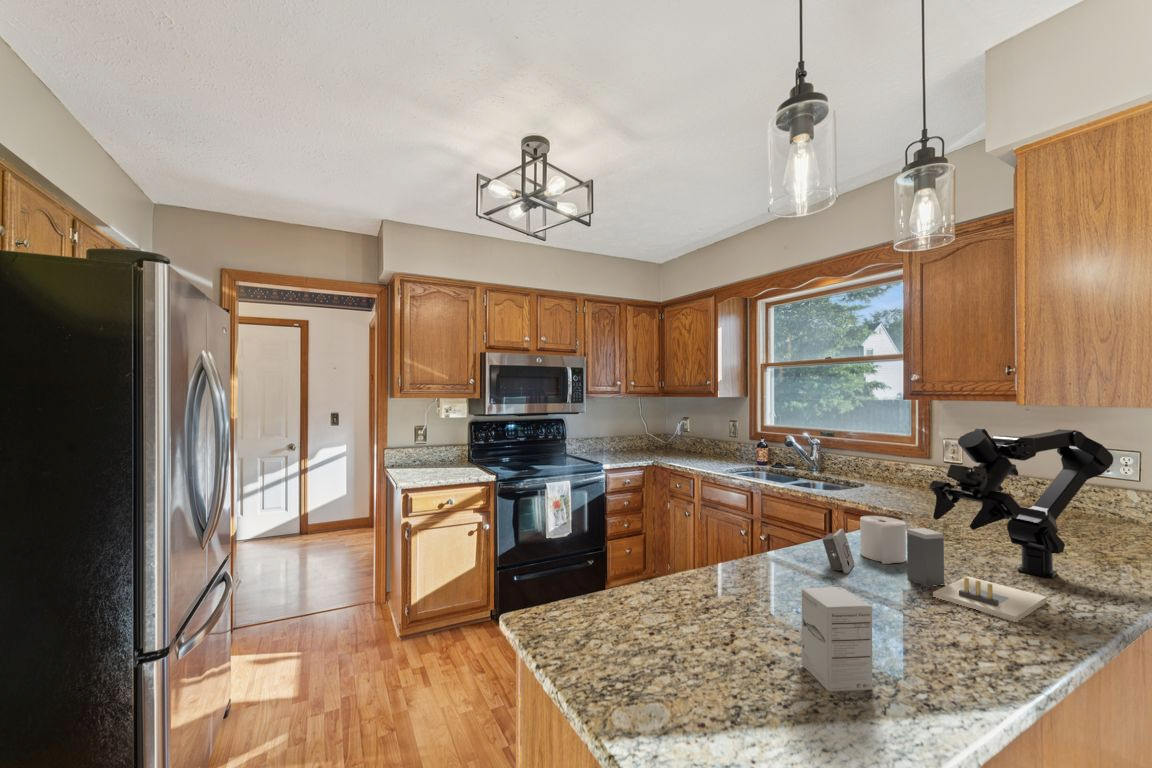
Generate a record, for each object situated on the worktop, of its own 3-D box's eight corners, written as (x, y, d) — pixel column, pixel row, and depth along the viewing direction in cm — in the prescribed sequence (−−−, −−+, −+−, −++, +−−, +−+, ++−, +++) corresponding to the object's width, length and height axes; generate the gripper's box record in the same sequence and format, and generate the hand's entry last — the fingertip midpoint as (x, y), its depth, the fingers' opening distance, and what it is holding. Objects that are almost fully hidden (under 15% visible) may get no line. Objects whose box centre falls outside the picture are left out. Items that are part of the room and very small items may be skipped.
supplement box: (800, 665, 79) (799, 587, 80) (843, 663, 80) (842, 585, 80) (827, 693, 72) (826, 606, 72) (874, 691, 73) (873, 605, 73)
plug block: (924, 577, 119) (924, 528, 119) (944, 585, 114) (943, 533, 114) (907, 579, 118) (907, 529, 118) (926, 587, 113) (925, 534, 113)
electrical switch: (848, 575, 120) (843, 536, 121) (825, 572, 123) (821, 534, 124) (855, 565, 128) (850, 529, 128) (833, 562, 131) (829, 527, 132)
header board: (967, 581, 117) (967, 559, 117) (1046, 602, 105) (1046, 577, 105) (933, 597, 107) (932, 573, 107) (1016, 622, 95) (1015, 595, 95)
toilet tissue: (888, 550, 140) (888, 515, 140) (919, 565, 128) (919, 526, 128) (852, 550, 139) (851, 515, 140) (879, 565, 127) (879, 526, 128)
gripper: (934, 449, 128) (899, 492, 126) (1010, 458, 110) (971, 509, 108) (959, 478, 130) (925, 522, 127) (1038, 491, 112) (1000, 543, 109)
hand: (952, 523), depth 118 cm, fingers open, 9 cm apart
